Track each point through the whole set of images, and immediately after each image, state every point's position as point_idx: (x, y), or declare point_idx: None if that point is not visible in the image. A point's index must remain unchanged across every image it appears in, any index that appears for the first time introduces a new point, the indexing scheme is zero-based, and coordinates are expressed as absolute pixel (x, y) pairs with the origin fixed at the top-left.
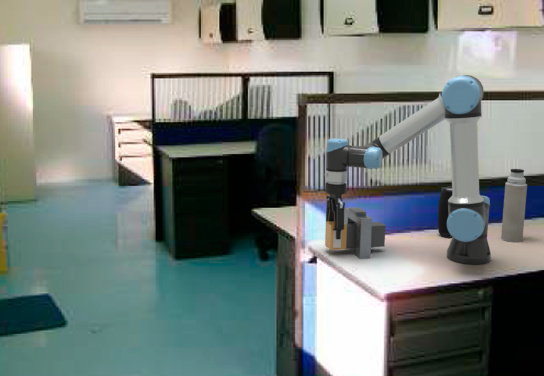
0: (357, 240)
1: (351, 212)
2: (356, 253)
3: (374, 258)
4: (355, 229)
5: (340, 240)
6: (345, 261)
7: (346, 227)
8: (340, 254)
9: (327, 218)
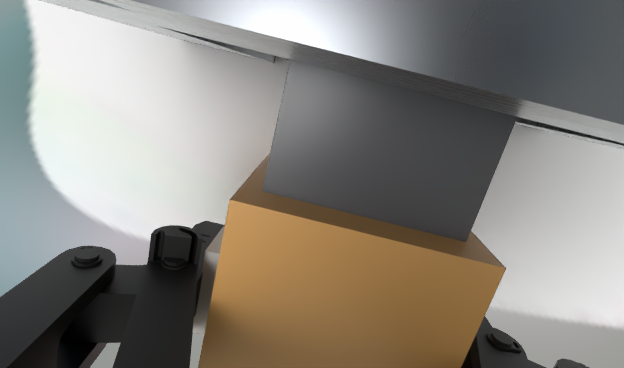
0: (561, 133)
1: (411, 81)
2: None
3: None
4: None
5: None
6: (526, 245)
7: (483, 252)
8: None
9: (86, 363)
